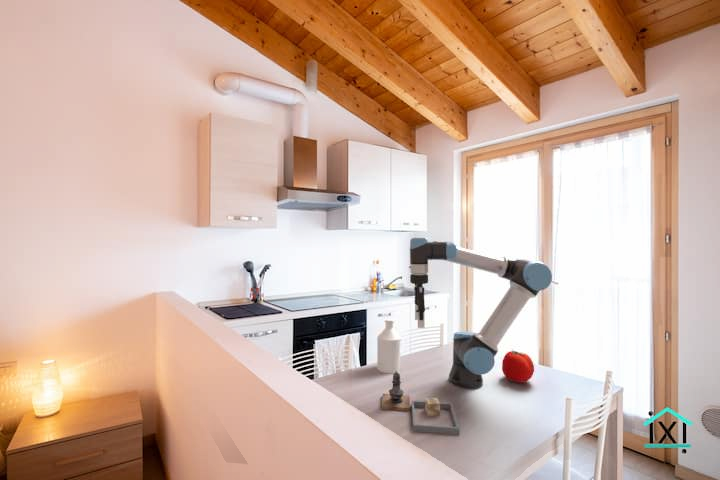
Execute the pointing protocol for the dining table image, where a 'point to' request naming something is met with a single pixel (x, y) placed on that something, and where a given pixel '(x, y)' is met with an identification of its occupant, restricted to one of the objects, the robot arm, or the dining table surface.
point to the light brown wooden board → (392, 406)
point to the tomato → (517, 367)
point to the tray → (431, 427)
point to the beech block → (432, 406)
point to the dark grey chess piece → (396, 390)
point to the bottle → (388, 349)
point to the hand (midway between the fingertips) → (419, 323)
